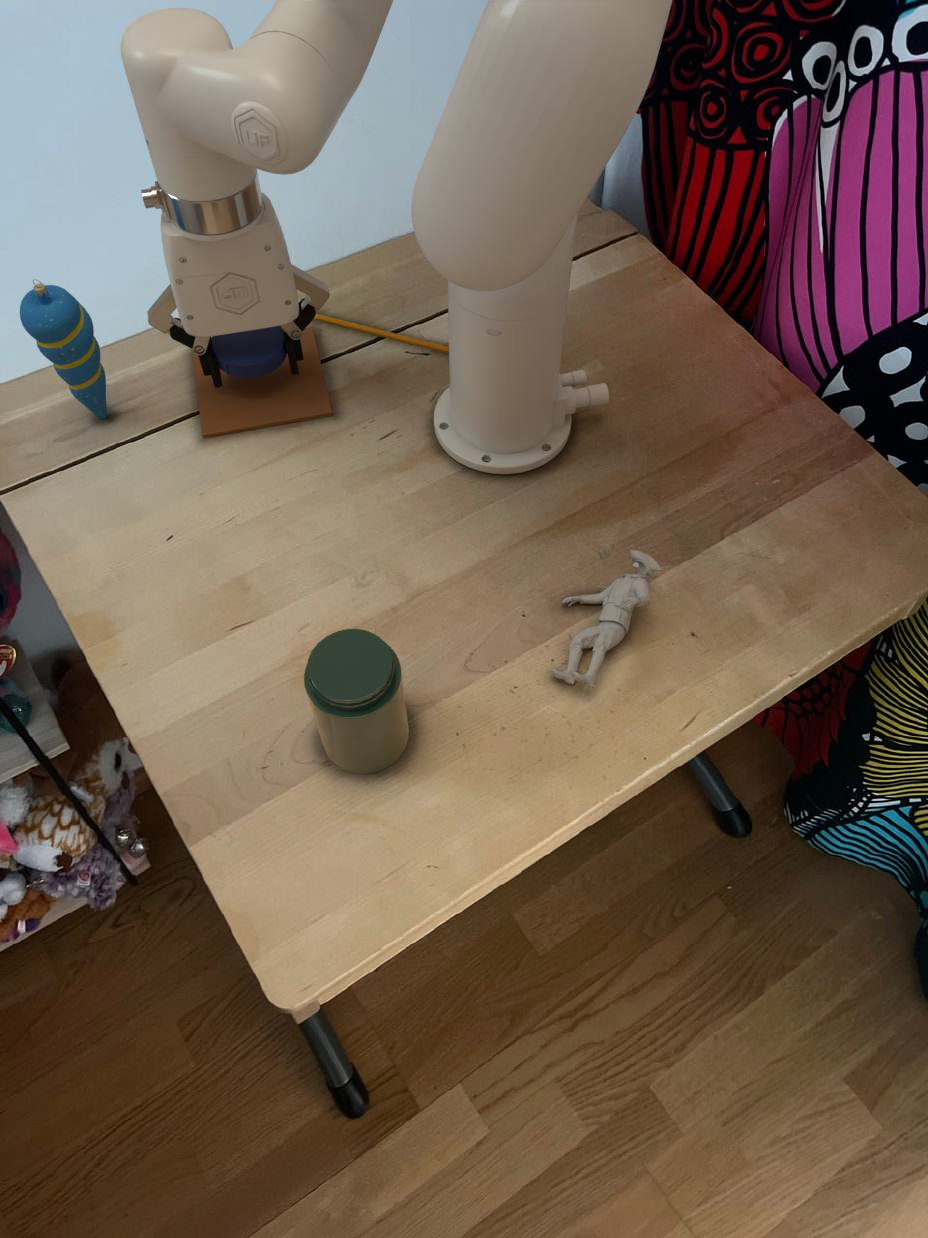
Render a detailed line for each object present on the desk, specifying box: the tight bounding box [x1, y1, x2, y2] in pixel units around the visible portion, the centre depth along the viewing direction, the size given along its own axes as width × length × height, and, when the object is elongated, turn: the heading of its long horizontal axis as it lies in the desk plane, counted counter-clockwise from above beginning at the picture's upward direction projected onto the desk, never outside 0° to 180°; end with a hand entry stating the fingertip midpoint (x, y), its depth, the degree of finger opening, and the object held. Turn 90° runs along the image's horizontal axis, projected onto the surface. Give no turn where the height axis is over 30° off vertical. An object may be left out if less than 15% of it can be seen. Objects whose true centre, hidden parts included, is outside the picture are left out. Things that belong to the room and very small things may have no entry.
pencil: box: [313, 313, 449, 355], centre depth 91 cm, size 19×1×1 cm, turn 69°
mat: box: [191, 328, 333, 439], centre depth 87 cm, size 12×12×1 cm
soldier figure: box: [550, 549, 663, 689], centre depth 71 cm, size 8×5×12 cm
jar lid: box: [211, 326, 287, 378], centre depth 84 cm, size 7×7×2 cm
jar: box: [303, 628, 410, 775], centre depth 63 cm, size 6×6×10 cm
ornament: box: [19, 278, 108, 420], centre depth 79 cm, size 5×5×15 cm
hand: (255, 369), depth 86 cm, fingers closed on jar lid, 6 cm apart
